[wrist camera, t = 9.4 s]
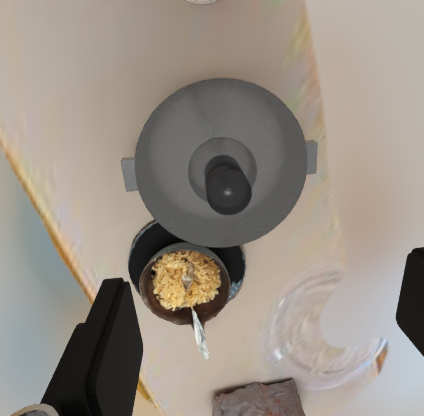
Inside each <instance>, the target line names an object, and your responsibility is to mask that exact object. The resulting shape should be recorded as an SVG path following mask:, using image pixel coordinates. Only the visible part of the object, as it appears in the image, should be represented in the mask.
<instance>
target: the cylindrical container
mask: <svg viewBox="0 0 424 416" xmlns="http://www.w3.org/2000/svg"><path fill="white" fill-rule="evenodd" d="M187 1H189V2H191V3H195V4H209V3H213V2H215V1H217V0H187Z"/></svg>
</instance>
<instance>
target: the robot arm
mask: <svg viewBox="0 0 424 416" xmlns="http://www.w3.org/2000/svg"><path fill="white" fill-rule="evenodd" d="M396 321H397V324H398V325H399V327H400V328H401V330H402V331H403V332H404V333H405V335H406V336H407V337H408V338H409V339H410V341H411V342H412V343H413V344H414V345H415V347H416V348H417V349H418V350H419V351H420V352H421V354H422V355H423V356H424V247H422V248H415V249H413V250H412V252H411V253H410V254H408V256H407V260H406V265H405V271H404V276H403V281H402V286H401V291H400V296H399V302H398V307H397V312H396ZM142 356H143V342H142V337H141V333H140V328H139V324H138V319H137V315H136V310H135V305H134V301H133V296H132V292H131V287H130V283H129V282H128V281H127V282H124V280H123V278H112V279H105V280H103V282H102V284H101V287H100V289H99V291H98V294H97V296H96V298H95V301H94V303H93V305H92V307H91V310H90V312H89V315H88V317H87V319H86V322H85V323H79V324H78V325H77V326H76V328H75V329H74V331H73V334H72V336H71V338H70V340H69V342H68V344H67V346H66V349H65V351H64V353H63V355H62V357H61V359H60V362H59V364H58V366H57V368H56V370H55V372H54V375H53V377H52V379H51V381H50V383H49V385H48V388H47V390H46V392H45V394H44V396H43V398H42V400H41V402H40V404H34V405H30V406H27V407H24V408H23V409H21V410H19V411H17V412H15V413H14V414H12V415H11V416H132V412H133V406H134V400H135V395H136V390H137V384H138V378H139V373H140V367H141V361H142Z"/></svg>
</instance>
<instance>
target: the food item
mask: <svg viewBox="0 0 424 416" xmlns="http://www.w3.org/2000/svg"><path fill="white" fill-rule="evenodd" d="M212 403H213V416H305V414H304V411H303V409H302V405H301V401H300V397H299V395H298V393H297V390H296V386H295V382H294V381H293V379H291V380H289V381H285V382H282V383H275V384H271V385H263V384H261V383H259V382H253V383H252V384H249V385H246V387H245V388H240V389H237V390H235V391H234V392H231V393H221V394H220V396H219V397H218V396H216V397H215V399H214V400H213V402H212Z"/></svg>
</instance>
